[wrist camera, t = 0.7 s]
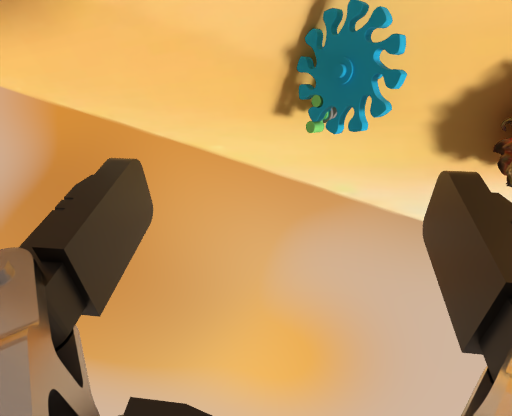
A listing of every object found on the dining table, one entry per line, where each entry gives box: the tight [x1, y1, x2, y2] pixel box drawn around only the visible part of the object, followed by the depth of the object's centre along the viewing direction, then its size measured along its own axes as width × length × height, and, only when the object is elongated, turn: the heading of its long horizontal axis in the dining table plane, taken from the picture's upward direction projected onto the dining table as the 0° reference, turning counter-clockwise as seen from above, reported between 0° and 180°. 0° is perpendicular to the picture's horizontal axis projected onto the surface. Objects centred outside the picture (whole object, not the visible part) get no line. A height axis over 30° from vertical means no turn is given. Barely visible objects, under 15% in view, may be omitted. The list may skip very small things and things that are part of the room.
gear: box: [297, 0, 407, 134], centre depth 30 cm, size 11×6×10 cm
